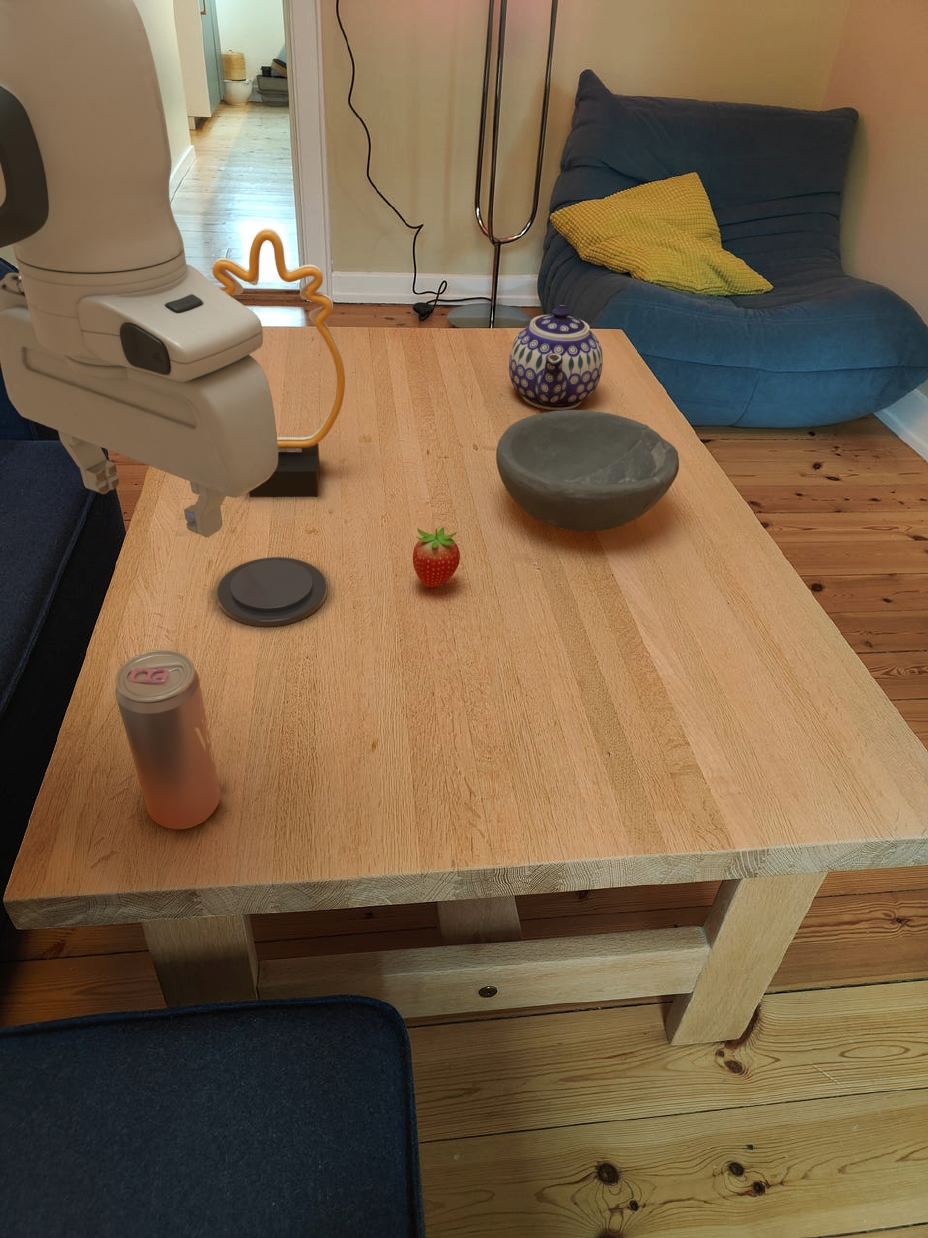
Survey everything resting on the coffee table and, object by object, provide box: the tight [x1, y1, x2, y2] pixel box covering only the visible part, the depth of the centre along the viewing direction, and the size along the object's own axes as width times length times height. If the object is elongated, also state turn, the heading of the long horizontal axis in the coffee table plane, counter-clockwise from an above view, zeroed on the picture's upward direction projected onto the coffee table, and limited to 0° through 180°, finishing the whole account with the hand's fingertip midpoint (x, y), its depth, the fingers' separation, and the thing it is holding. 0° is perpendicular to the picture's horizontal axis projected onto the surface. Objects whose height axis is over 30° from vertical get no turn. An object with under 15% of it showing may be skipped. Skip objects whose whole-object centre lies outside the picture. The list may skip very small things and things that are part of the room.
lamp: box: [212, 228, 346, 498], centre depth 106 cm, size 17×9×32 cm, turn 96°
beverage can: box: [114, 649, 221, 830], centre depth 68 cm, size 6×6×15 cm
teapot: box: [508, 304, 604, 411], centre depth 137 cm, size 25×15×15 cm, turn 169°
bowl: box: [495, 409, 680, 532], centre depth 110 cm, size 23×22×10 cm
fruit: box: [412, 526, 461, 589], centre depth 96 cm, size 5×5×8 cm
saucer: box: [216, 556, 328, 628], centre depth 96 cm, size 12×12×1 cm
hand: (152, 508), depth 58 cm, fingers open, 8 cm apart
